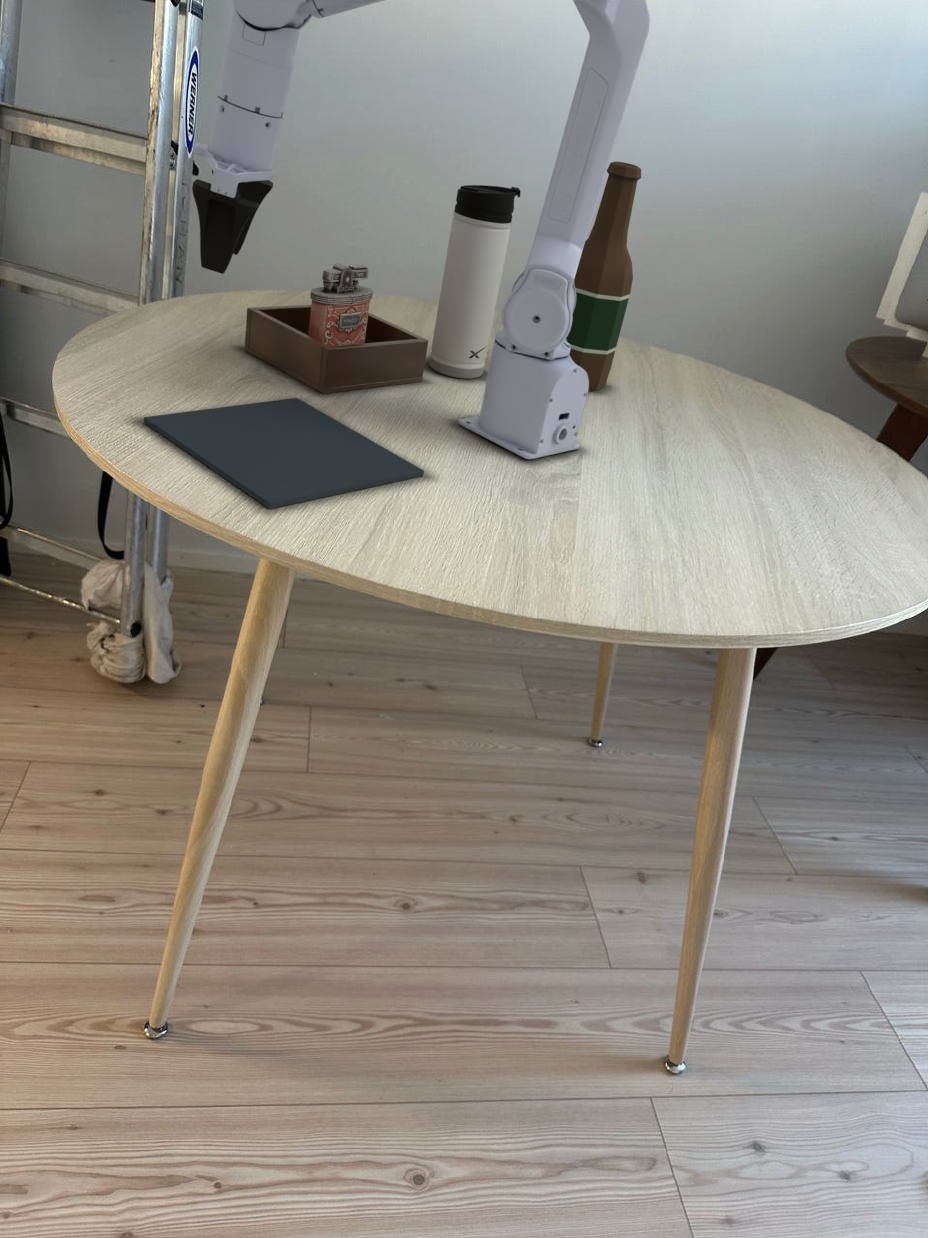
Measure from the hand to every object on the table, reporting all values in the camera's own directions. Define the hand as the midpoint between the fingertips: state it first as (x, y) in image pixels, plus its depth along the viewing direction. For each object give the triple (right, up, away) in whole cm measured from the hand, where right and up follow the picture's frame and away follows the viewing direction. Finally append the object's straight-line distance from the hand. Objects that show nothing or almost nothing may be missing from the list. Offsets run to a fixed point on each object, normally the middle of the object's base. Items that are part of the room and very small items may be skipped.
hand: (220, 259), depth 93 cm
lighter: (+9, -6, +13) cm, 17 cm away
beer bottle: (+36, -6, +25) cm, 44 cm away
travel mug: (+22, -6, +20) cm, 30 cm away
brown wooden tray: (+9, -7, +13) cm, 17 cm away
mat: (+8, -19, -9) cm, 23 cm away
